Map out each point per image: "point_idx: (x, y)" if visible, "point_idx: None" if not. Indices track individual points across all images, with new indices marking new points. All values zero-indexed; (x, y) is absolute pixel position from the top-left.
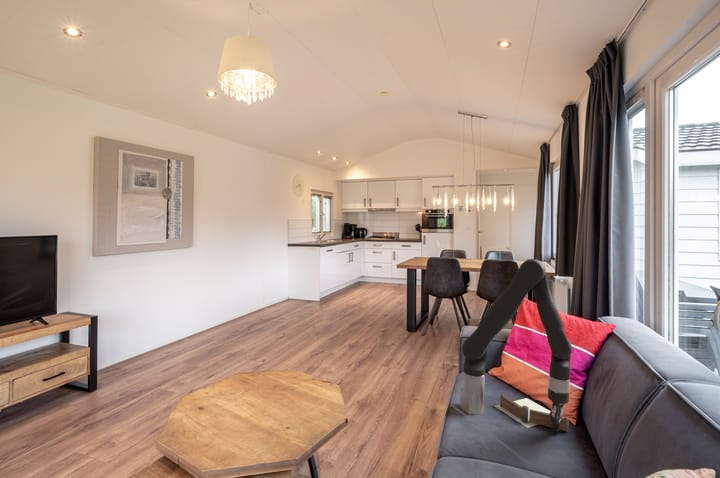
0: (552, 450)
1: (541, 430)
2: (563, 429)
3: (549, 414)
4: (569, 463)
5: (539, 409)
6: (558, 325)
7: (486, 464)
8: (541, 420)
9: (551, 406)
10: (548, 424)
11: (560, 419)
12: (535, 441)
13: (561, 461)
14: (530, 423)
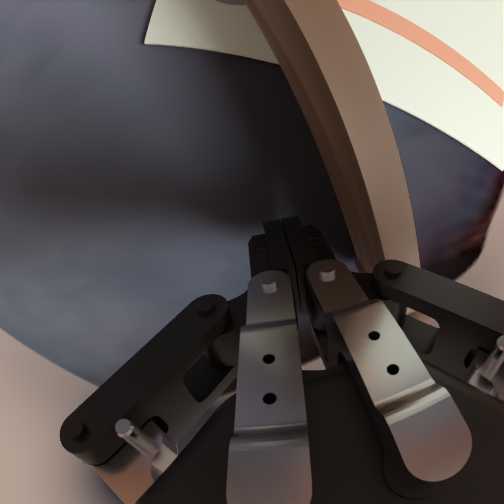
0: (83, 288)
1: (234, 122)
2: (357, 255)
3: (383, 192)
4: (88, 357)
5: (499, 31)
6: None
7: None
8: (306, 94)
9: (229, 485)
10: (325, 156)
11: (327, 335)
12: (56, 186)
13: (65, 337)
14: (242, 16)
